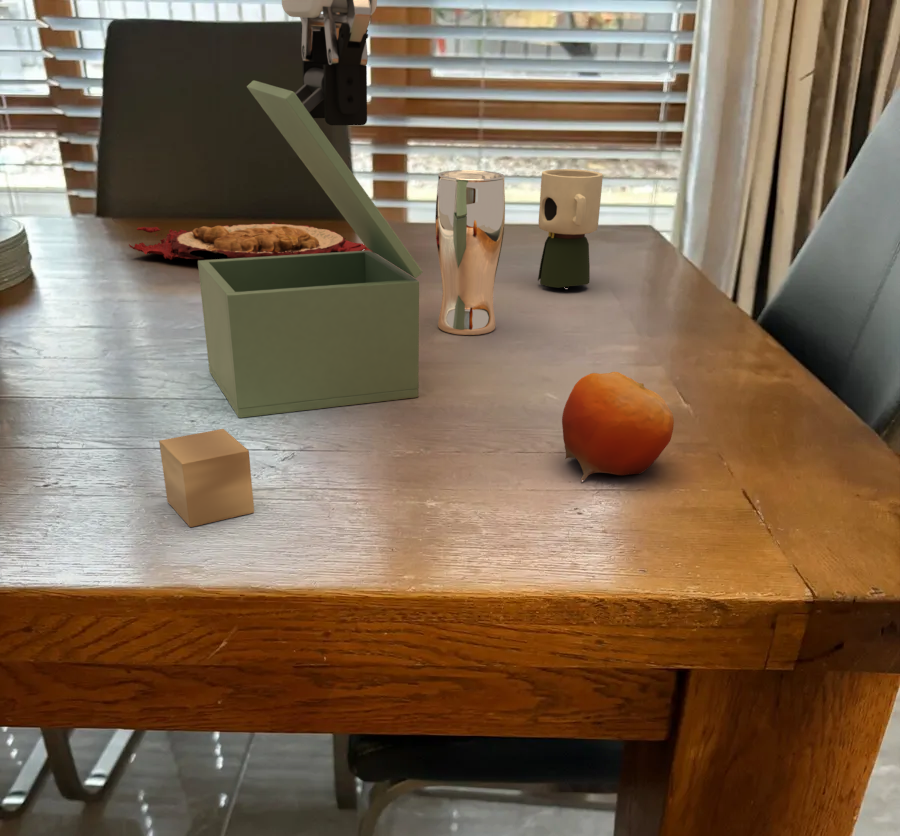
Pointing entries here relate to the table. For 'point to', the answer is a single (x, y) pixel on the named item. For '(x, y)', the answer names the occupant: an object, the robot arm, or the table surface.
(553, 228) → the character mug
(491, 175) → the beer glass
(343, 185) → the chest door
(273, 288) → the chest
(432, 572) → the table surface
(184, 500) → the block
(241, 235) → the plate with food
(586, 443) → the fruit
